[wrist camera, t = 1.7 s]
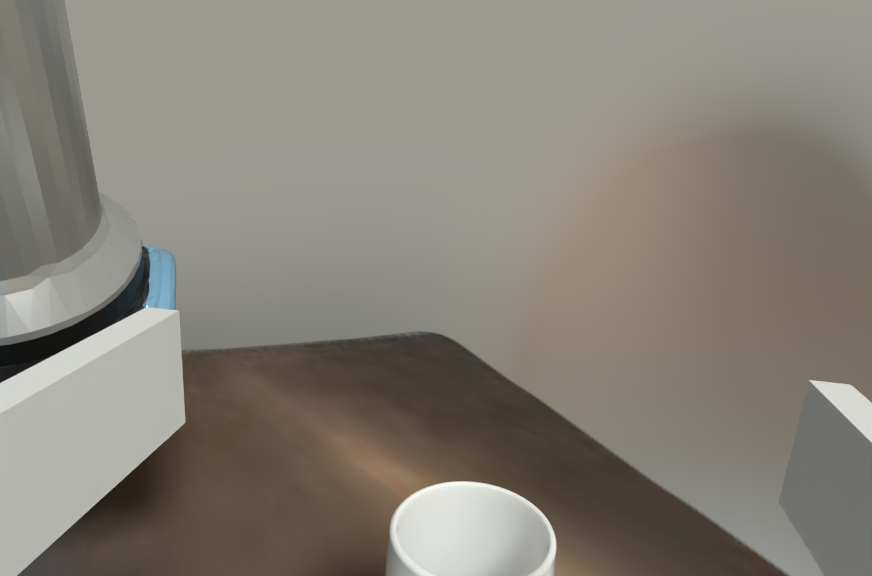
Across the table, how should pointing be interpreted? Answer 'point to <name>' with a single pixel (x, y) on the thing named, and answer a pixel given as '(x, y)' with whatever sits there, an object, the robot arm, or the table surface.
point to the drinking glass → (469, 534)
